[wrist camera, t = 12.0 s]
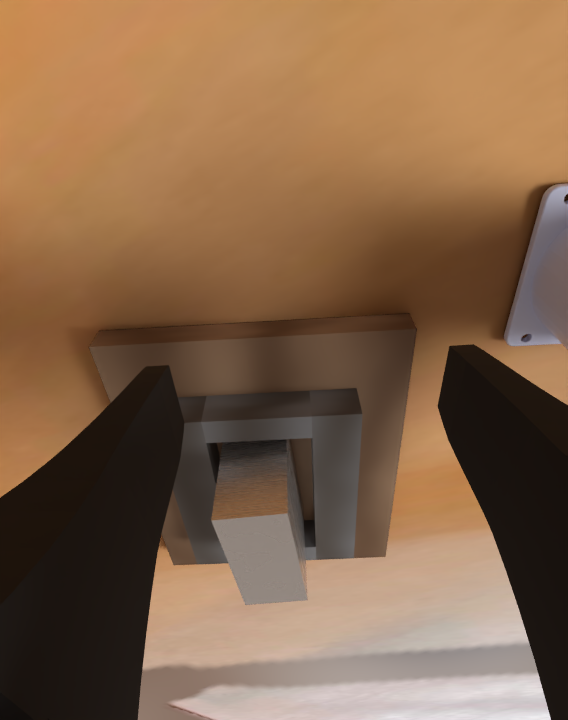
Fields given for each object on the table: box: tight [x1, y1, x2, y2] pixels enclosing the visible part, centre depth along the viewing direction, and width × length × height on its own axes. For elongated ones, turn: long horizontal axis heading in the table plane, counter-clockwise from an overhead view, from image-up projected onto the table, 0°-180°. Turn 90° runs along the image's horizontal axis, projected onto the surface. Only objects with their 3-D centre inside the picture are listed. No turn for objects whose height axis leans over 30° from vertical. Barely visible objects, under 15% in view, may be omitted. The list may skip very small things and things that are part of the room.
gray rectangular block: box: [211, 439, 308, 605], centre depth 24 cm, size 4×8×6 cm, turn 8°
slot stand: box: [89, 313, 417, 565], centre depth 27 cm, size 16×20×4 cm
